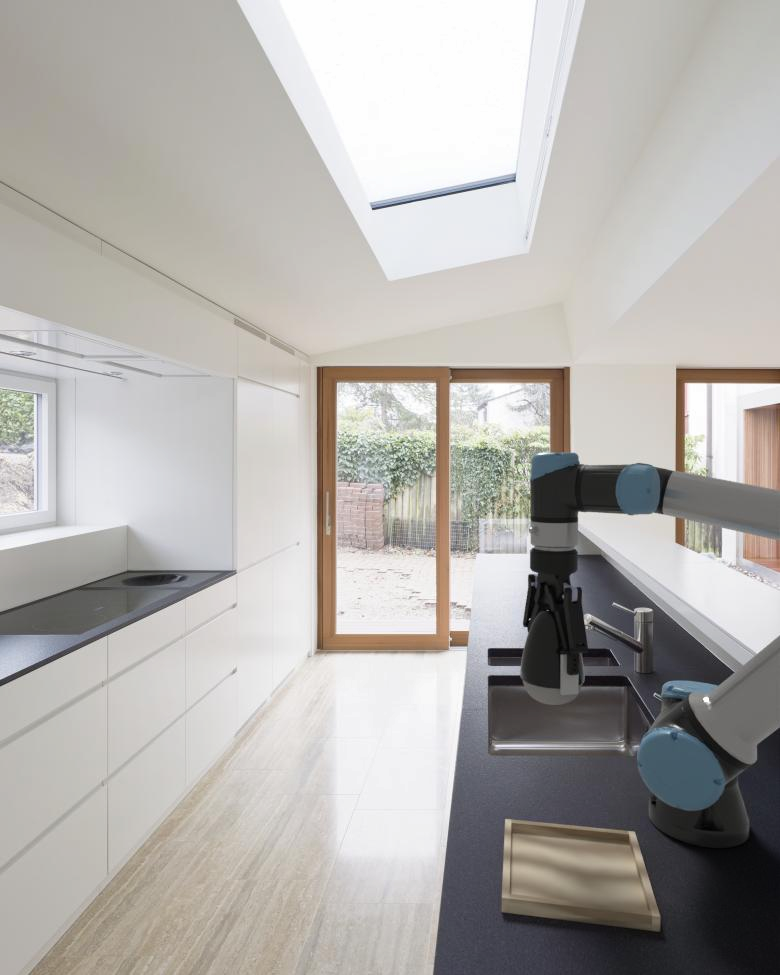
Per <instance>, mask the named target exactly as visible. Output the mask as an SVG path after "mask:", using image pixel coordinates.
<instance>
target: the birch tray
mask: <svg viewBox="0 0 780 975" xmlns="http://www.w3.org/2000/svg"><path fill="white" fill-rule="evenodd" d="M503 837H504V839H503V840H504V841H503V842H504V843H503V857H502V859H503V863H502V864H503V865H502V881H501V882H502V884H501V913H506V914H512V915H513V914H514V915H522V916H529V917H531V916H532V917H538V918H546V919H553V920H561V921H571V922H577V923H585V924H593V925H600V926H601V925H602V926H603V925H604V926H611V927H616V928H617V927H619V928H626V929H634V930H643V931H648V932H649V931H650V932H656V933H657V932H658V933H660V932H661V914H660V911H659V907H658V905H657V901H656V898H655V894H654V891H653V888H652V884H651V880H650V877H649V874H648V871H647V868H646V865H645V861H644V857H643V854H642V851H641V848H640V844H639V841H638V838H637V835H636V832H635V831H632V830H631V831H630V830H623V829H620V830H619V829H611V828H600V827H599V828H598V827H594V826H593V827H590V826H581V825H569V824H562V823H561V824H560V823H553V822H552V823H550V822H539V821H531V820H520V819H513V818H512V819H509V818H505V819H504V836H503Z"/></svg>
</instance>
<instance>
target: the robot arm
mask: <svg viewBox="0 0 780 975" xmlns="http://www.w3.org/2000/svg"><path fill="white" fill-rule="evenodd" d="M580 463H581V462H580V461H579V455H578V454H577V453H576V452H537V453H535V454H533V456H532V459H531V463H530V464H531V465H530V466H531V467H530V478H529V483H530V486H529V487H530V488H529V489H530V490H529V492H530V527H529V528H528V533H529V534H530V544H531V546H532V548H531V549H530V550H529V569H530V570H531V571H532V572H534V573H528V575H527V576H528V577H527V591H526V601H525V606H524V612H523V613H524V614H523V620H522V627H524V628H527V634H528V633H529V630H530V627H531V625H532V623H533V621H534V619H535V617H536V616H537V615H538V613H539V612H540V611H542V610H543V609H545V608H549V607H550V608H551V611H552V612H554V613H555V617H556V621H557V625H558V629H559V633H560V637H561V641H562V645H563V649H564V650H562V651H560V654H561V671H560V694H561V695H571V694H578V683H579V654H580V653H582V654H583V653H585V654H586V653H588V652H589V645H588V636H587V630H586V626H585V624H586V623H585V617H584V611H583V610H584V609H583V603H582V600H583V599H582V598H583V597H582V596H583V589H582V587H581V586H572V583H571V575H572V574H575V573H576V572H577V571H578V564H579V563H578V558H579V555H578V554H579V552H578V551H577V549H576V547H578V545H579V512H581V513H601V514H602V513H603V514H619V515H628V516H635V515H636V516H637V515H652V514H658V515H664V516H665V515H666V516H668V517H673V518H677V519H682V520H687V521H691V522H696V523H699V524H704V525H709V526H713V527H718V528H722V529H727V530H731V531H735V532H739V533H744V534H748V535H752V536H757V537H761V538H767V539H771V540H775V541H778V542H780V490H779V489H775V488H770V487H765V486H758V485H753V484H747V483H743V482H737V481H732V480H726V479H722V478H716V477H712V476H705V475H699V474H695V473H689V472H684V471H678V470H672V469H667V468H663V467H659V466H658V467H657V466H653V465H652V464H649V463H643V462H642V463H641V462H636V463H631V464H629V463H628V464H591V465H589V464H584V463H583V464H582V463H581V464H580ZM533 546H534V547H533ZM578 695H579V694H578ZM660 698H661V709H660V713H659V715H658V716H657V717H656V719H655V720H654V721H653V723H652V724H651V726H650V727H649V729H647V730H648V731H647V732H646V733H645V734H644V735H643V736H642V738H641V740H640V742H639V746H638V749H637V754H636V763H637V764H636V765H637V769H638V773H639V775H640V777H641V779H642V781H643V783H644V784H645V786H646V787H647V789H649V791H650V792H651V794H650V796H649V799H648V817H649V820H650V821H651V822H652V824H653V825H654V826H655V827H656V828H657V829H658V830H660V831H661V832H662V833H664V834H665V835H667V836H669V837H671V838H673V839H675V840H678V841H679V842H683V843H686V844H690V845H693V846H698V847H703V848H712V849H725V848H726V849H728V848H735V847H738V846H740V845H743V844H744V843H745V842H746V841H747V840H748V838H749V837H750V818H749V814H748V813H747V810H746V805H745V802H744V799H743V797H742V793H741V790H740V787H739V775H740V774H742V773H743V772H745V770H747V769H748V768H749V767H751V766H752V765H753V764H755V763H756V762H757V761H758V745H759V744H760V743H761V742H763V741H764V740H765V739H766V738H768V737H769V736H770V735H772V734H773V733H774V732H776V731H777V730H778V729H780V634H779V635H778V636H777V637H776V638H775V639H773V640H772V641H771V642H770V643H769V644H767V645H766V646H765V647H764V648H763V649H762V650H760V651H759V652H758V653H757V654H755V655H754V656H753V657H751V658H750V659H749V660H748V661H747V662H745V663H744V664H743V665H742V666H740V667H739V669H737V670H735V671H734V673H732V674H731V675H730V676H729V677H728V678H726V679H725V680H724V681H722V683H720V684H719V685H717V684H712V683H707V682H706V683H705V682H702V681H701V682H700V681H695V680H693V681H692V680H669V681H666V682H665V683H664V684H663V685H662V687H661V694H660Z"/></svg>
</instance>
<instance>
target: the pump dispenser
mask: <svg viewBox="0 0 780 975" xmlns="http://www.w3.org/2000/svg"><path fill="white" fill-rule="evenodd" d="M562 650H564V649H563V645H562V641H561V637H560V633H559V629H558V625H557V621H556V617H555V613H554V612H552V611H551V608H550V607H549V608H545V609H543V610H542V611H540V612H539V613H538V615H537V616H536V617H535V619H534V621H533V623H532V625H531V627H530V630H529V633H528V632H527V636H526V640H525V643H524V647H523V651H522V656H521V662H520V679H521V680H522V683H523V686H524V689H525V690H526V693H528V695H529V696H530V697H531V698H532V699H533V700H535V701H537V702H538V703H541V704H544V705H548V706H549V705H551V706H556V705H557V706H559V705H565V704H569V703H570V702H572V701H573V700H575V699H576V698H577V697H578V695H579V694H580V692H581V691H582V690H581V689H582V687H583V684H584V683H585V679H586V678H585V667H584V661H583V660H584V659H583V653H580V654H579V683H578V694H571V695H561V694H560V671H561V654H560V651H562Z"/></svg>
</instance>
